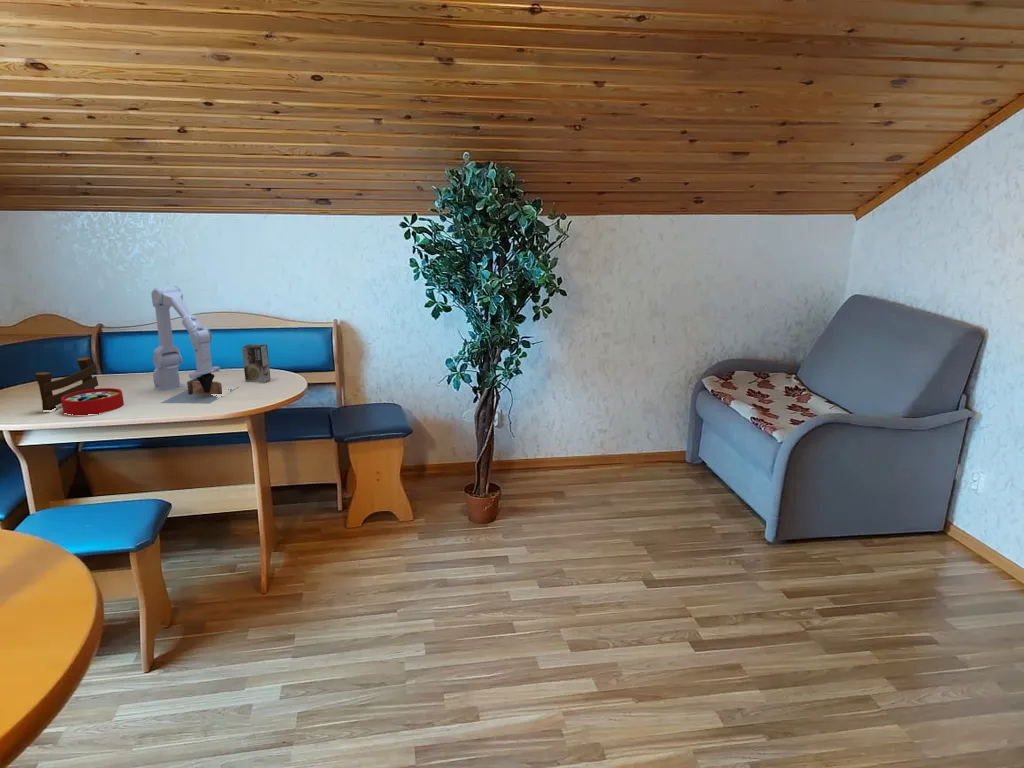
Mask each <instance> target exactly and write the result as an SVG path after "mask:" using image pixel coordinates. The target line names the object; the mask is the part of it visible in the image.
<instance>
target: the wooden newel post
mask: <svg viewBox="0 0 1024 768" xmlns="http://www.w3.org/2000/svg"><path fill="white" fill-rule="evenodd" d="M222 387H223V386H222V382H219V381H212V384H211V389H210V392H209V393H206V392H204V390H203V387H202V385H201V383H200V382H199V381H193V382H192V388H193V394H222Z"/></svg>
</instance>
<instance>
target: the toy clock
mask: <svg viewBox="0 0 1024 768" xmlns="http://www.w3.org/2000/svg"><path fill="white" fill-rule="evenodd" d="M61 400H62V403H61V405H62V411H63V414H64V413H67V414H71V415H72V414H73V415H88V414H98V415H100V414H99V413H104V414H105V413H108V412H111V411H115V410H118V409H120V408H122V407H123V406H124V405H125V403H124V395H123V391H122V389H120V388H114V387H103V388H102V387H100V388H95V389H89V390H83V391H78V392H73V393H70V394H67V395H65V396H63V397H62V398H61Z"/></svg>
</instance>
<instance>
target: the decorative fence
mask: <svg viewBox="0 0 1024 768" xmlns="http://www.w3.org/2000/svg"><path fill="white" fill-rule="evenodd" d="M75 360H76V363H77V364H78V366H79V367H78V368H79V371H78V372H75V373H73V374H70V375H68V376H65V377H63V378H60V379H56V380H53V381H52V378H53V377H52V376H53V373H51V372H45V371H44V372H43V371H42V372H35V373H34V376H35V380H36V382H37V385H38V387H39V393H40V399H41V402H42V403H41V405H42V411H43V410H52V409H54V408H57V406H58V405H62V400H61V398H62V397H63V396H65V395H67V394H70V393H73V392H78V391H83V390H89V389H96V388H97V387H98V386H99V381H98V378H97V375H96V376H93V375H94V373H97V366H96V363H93V364H92V357H87V356H86V357H85V356H84V357H79V358H76V359H75ZM80 381H81V382H82V383H80V384H77V385H75V386H73V387H71V388H69V389H66V390H64V391H62V392H60V393H59V392H58V393H56V394H53V393H54V392H53V391H57V390H60V389H63V388H66V387H68V386H70V385H73V384H75V383H78V382H80Z"/></svg>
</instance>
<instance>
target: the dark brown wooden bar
mask: <svg viewBox="0 0 1024 768" xmlns="http://www.w3.org/2000/svg"><path fill="white" fill-rule="evenodd" d="M186 381H187V380H186ZM193 381H199V380H198V379H197V378H195V379H190V380H188V381H187V382H186V384H187V390H188V394H193V388H192V382H193Z"/></svg>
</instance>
